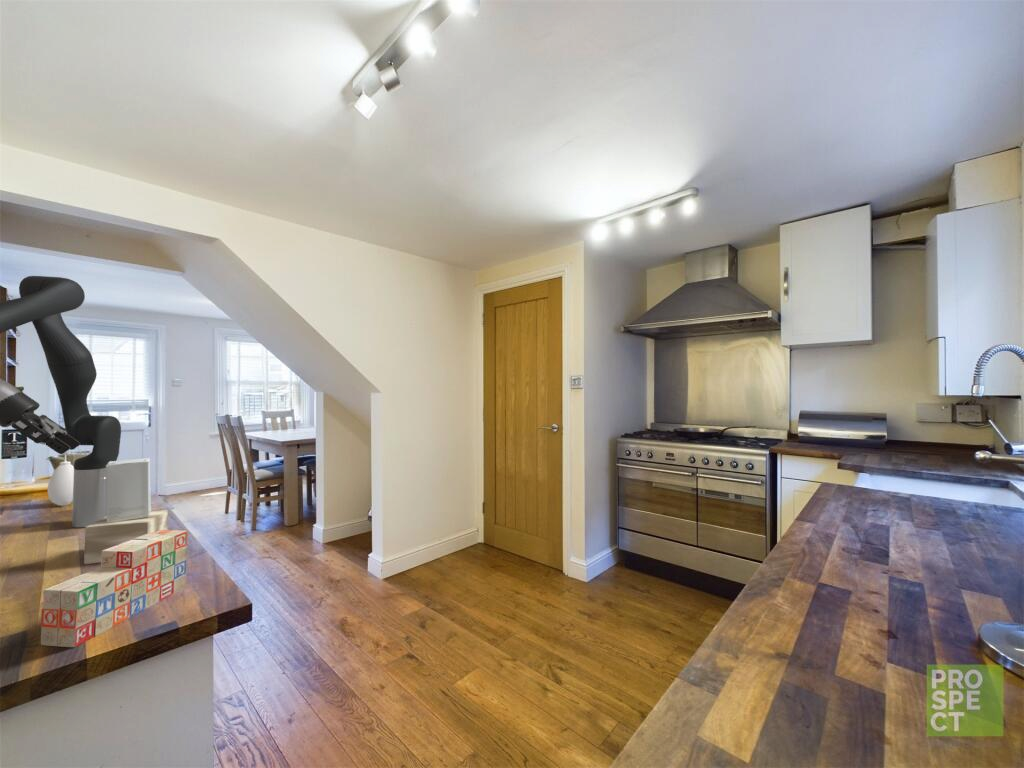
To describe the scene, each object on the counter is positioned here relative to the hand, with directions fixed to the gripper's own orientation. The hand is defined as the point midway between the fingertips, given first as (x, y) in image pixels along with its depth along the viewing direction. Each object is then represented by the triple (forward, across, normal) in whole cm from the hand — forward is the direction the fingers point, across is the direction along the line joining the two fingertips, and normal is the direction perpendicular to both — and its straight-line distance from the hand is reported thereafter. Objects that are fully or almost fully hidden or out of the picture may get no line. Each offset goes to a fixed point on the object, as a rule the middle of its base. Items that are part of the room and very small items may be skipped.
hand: (71, 449), depth 101 cm
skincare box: (+21, 0, +6) cm, 21 cm away
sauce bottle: (+9, +67, +30) cm, 74 cm away
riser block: (+27, 0, +12) cm, 30 cm away
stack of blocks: (+30, -38, +9) cm, 49 cm away
